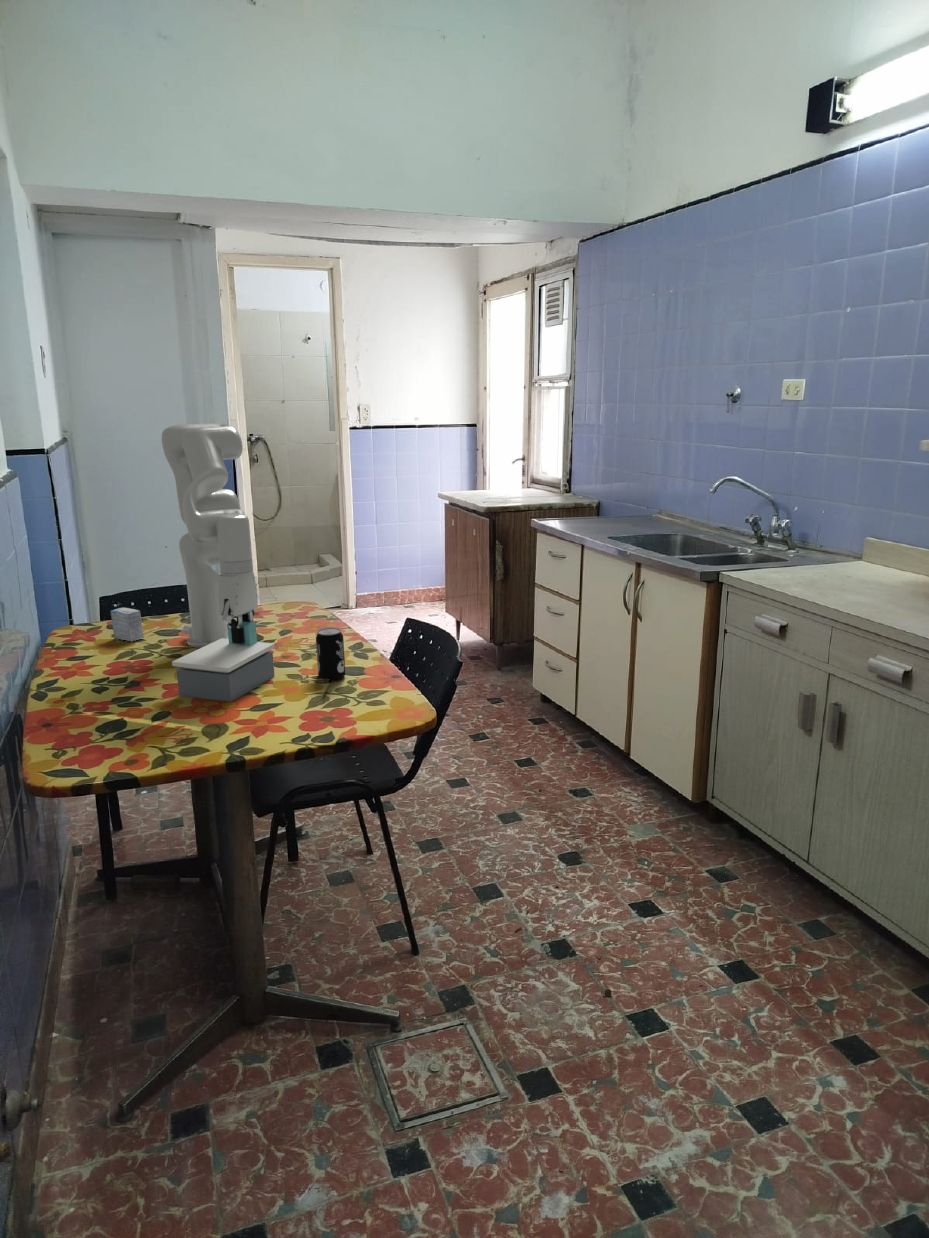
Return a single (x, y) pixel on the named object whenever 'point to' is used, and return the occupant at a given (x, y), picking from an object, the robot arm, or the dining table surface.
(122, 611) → the white upright block
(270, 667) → the tub
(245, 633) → the lid
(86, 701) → the dining table surface
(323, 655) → the beverage can
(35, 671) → the dining table surface
